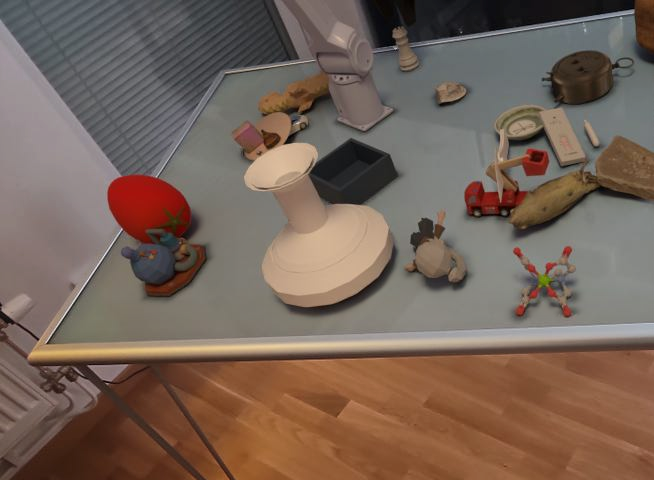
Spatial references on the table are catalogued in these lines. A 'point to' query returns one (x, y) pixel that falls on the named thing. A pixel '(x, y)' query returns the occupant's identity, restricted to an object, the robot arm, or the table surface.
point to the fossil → (449, 92)
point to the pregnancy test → (565, 136)
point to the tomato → (148, 206)
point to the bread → (645, 24)
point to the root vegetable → (552, 198)
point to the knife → (501, 159)
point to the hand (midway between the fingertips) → (400, 20)
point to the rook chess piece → (405, 51)
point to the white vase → (316, 234)
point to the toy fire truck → (511, 196)
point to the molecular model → (546, 280)
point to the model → (165, 263)
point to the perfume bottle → (263, 134)
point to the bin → (352, 173)
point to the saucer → (520, 122)
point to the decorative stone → (626, 168)
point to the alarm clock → (582, 76)
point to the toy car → (298, 123)
